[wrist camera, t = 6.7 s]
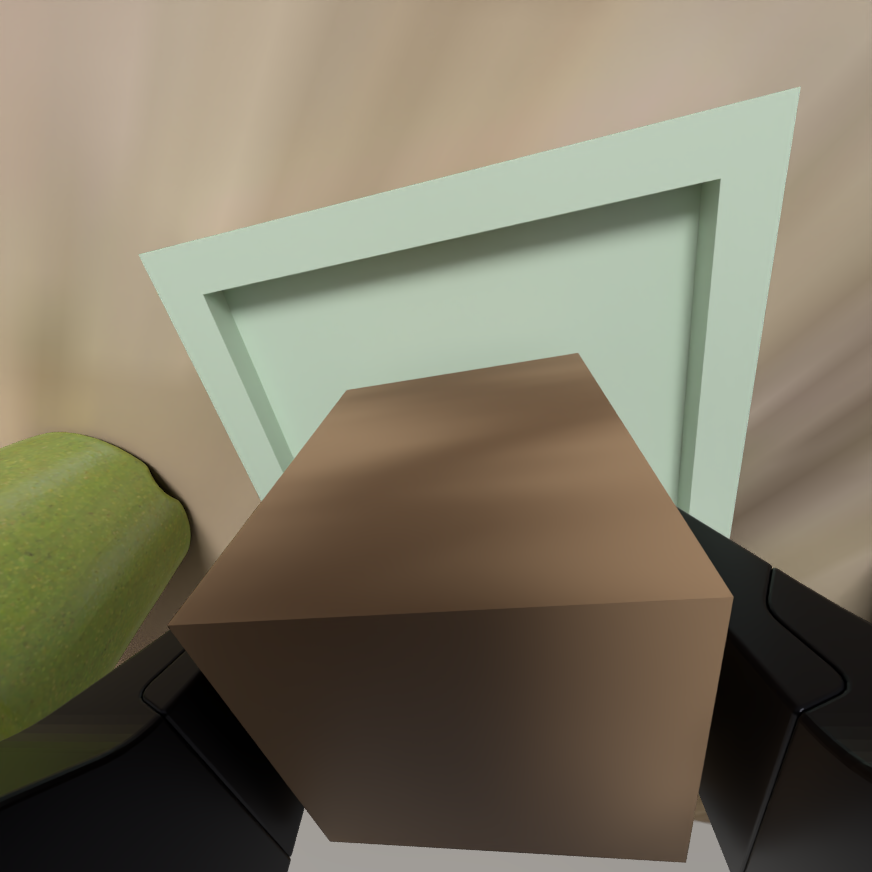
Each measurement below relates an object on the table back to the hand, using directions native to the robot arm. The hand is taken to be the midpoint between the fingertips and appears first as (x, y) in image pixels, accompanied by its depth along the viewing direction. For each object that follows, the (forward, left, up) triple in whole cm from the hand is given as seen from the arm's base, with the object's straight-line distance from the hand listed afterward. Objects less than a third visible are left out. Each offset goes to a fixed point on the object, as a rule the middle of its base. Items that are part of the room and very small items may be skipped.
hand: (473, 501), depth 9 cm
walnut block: (0, 0, -1) cm, 1 cm away
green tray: (0, 0, -3) cm, 3 cm away
